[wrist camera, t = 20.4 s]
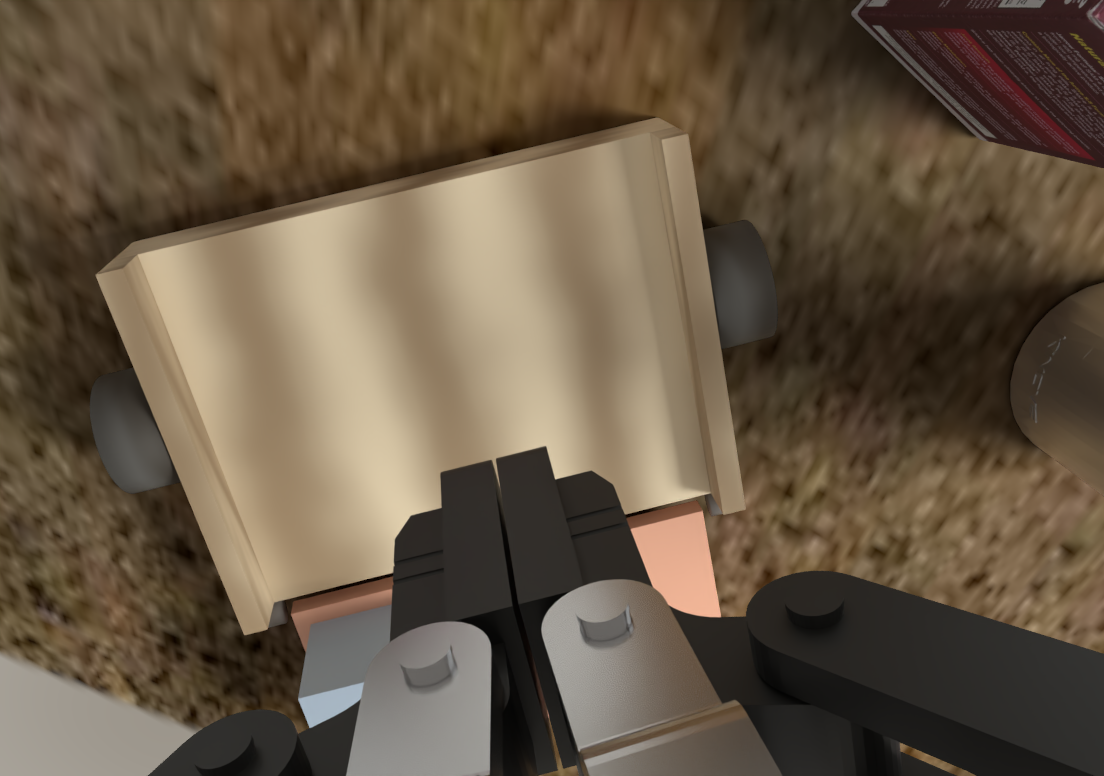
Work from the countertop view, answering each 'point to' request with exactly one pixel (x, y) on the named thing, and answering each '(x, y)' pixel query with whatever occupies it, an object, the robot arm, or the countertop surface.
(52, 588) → the countertop surface
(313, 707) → the blue gray block
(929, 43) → the supplement box
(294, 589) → the flatbed
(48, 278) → the countertop surface
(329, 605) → the pink rectangular board
